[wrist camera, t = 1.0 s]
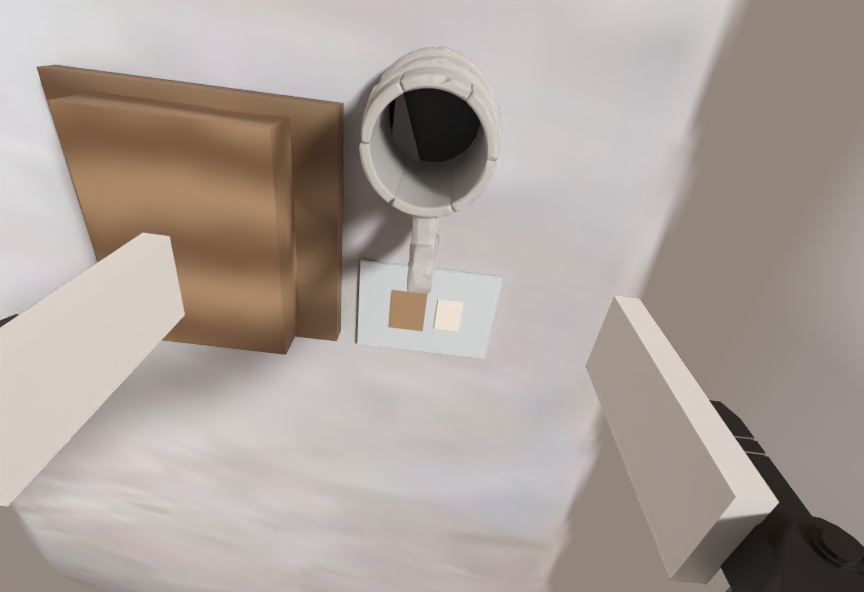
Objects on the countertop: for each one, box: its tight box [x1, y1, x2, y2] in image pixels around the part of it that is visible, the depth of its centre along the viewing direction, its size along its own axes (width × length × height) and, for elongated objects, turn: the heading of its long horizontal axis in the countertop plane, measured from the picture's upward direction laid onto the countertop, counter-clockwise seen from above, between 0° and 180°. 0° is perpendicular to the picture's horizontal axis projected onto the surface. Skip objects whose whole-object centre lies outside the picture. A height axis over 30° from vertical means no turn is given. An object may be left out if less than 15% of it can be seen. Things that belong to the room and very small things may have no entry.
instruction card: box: [357, 259, 503, 359], centre depth 36 cm, size 8×11×1 cm
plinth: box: [37, 65, 343, 354], centre depth 31 cm, size 18×18×5 cm
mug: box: [359, 47, 501, 294], centre depth 24 cm, size 8×12×12 cm, turn 176°
